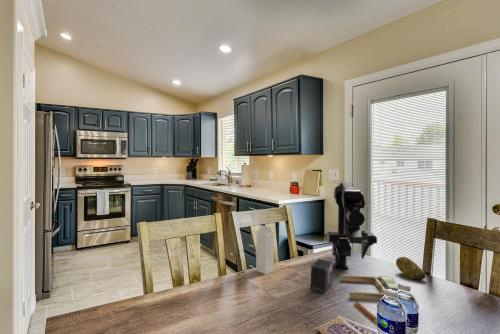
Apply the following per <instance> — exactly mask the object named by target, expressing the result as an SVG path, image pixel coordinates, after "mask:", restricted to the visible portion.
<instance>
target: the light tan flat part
mask: <svg viewBox="0 0 500 334" xmlns="http://www.w3.org/2000/svg"><path fill="white" fill-rule="evenodd" d="M340 276H341V277H340V279H341V282H347V283H348V282H350V283H351V282H352V283H370V284H374V285H375V286H376V288H377V289H378V290H379V292H367V291H351V290H350V291H349V299H350V300H366V301H368V300H369V301H381V300H380V299H381V298H382V297H383V296H384V295H385V290H386V289H392V290H395V291H397V290H398V284H399V283H398V282H397V280H395V279H394V278H393V277H391V276H390V275H389V276H388V275H380V276H372V275H371V276H369V275H368V276H367V275H350V274H348V275H347V274H341V275H340Z"/></svg>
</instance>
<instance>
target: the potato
mask: <svg viewBox="0 0 500 334" xmlns="http://www.w3.org/2000/svg"><path fill="white" fill-rule="evenodd" d="M395 264H396V267H397V269H398V270H399V271H400V272H401V273H402V274H403V275H404V276H405V277H406V278H409V279H412V280H414V281H422V280H424V279H426V273H425V271H424V270H423V269H422V268H421V267H420V266H419V265H418V264H417V263H416V262H415V261H413V260H412V259H410V258H409V257H407V256H400V257H398V258H397V259H396V262H395Z"/></svg>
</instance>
